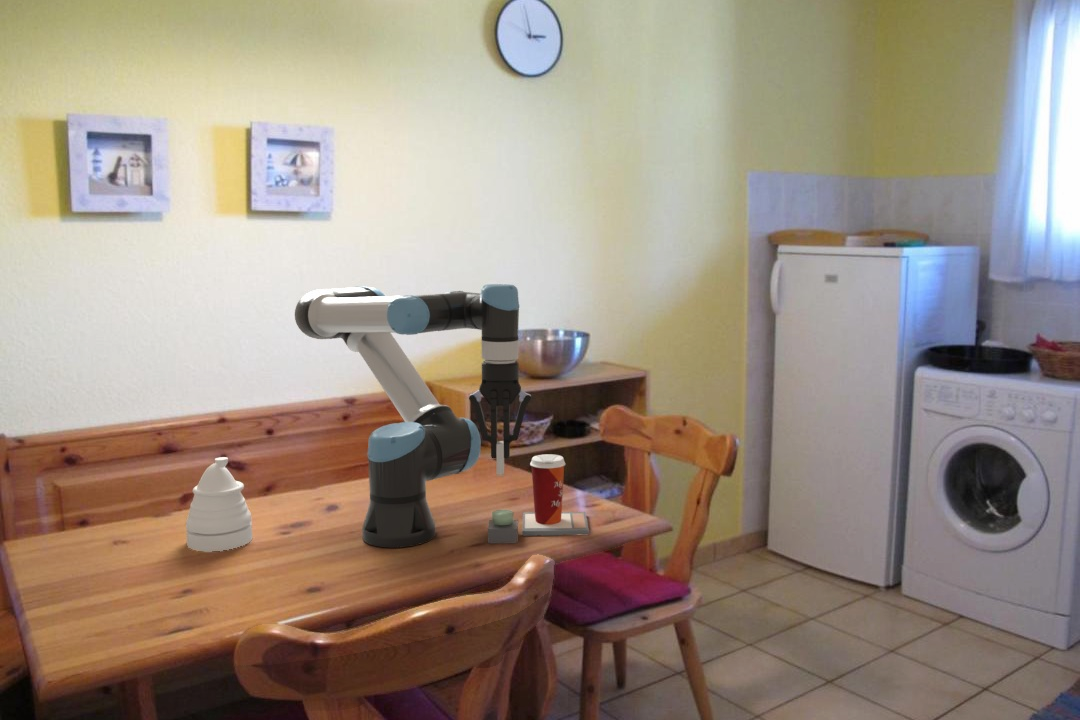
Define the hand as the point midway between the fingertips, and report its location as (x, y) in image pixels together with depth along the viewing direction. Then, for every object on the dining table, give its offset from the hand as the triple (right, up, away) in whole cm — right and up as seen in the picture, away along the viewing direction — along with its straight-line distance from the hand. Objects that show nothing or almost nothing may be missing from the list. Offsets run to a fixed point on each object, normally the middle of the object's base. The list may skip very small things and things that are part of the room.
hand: (500, 473), depth 187 cm
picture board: (+11, -13, +9) cm, 20 cm away
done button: (0, -10, +1) cm, 10 cm away
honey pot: (-58, -15, +1) cm, 60 cm away
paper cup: (+10, -12, +10) cm, 18 cm away
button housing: (+1, -14, +1) cm, 14 cm away
